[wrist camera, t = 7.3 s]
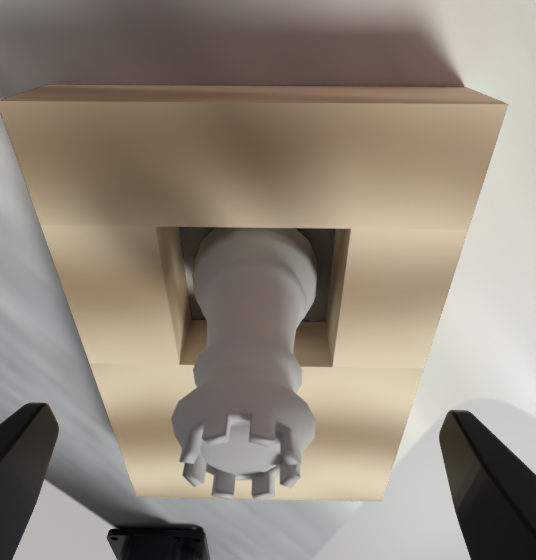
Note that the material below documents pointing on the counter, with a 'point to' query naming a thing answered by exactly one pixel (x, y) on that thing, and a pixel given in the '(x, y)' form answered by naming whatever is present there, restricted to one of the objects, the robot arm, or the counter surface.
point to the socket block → (257, 214)
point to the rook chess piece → (248, 361)
